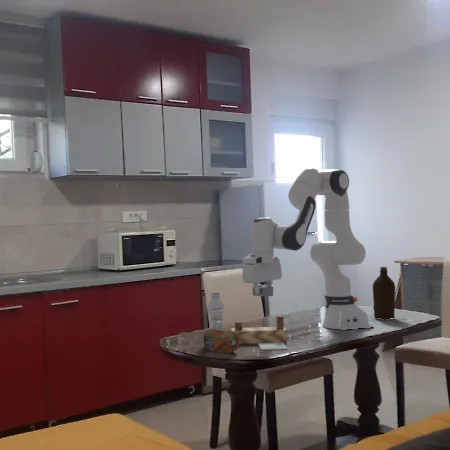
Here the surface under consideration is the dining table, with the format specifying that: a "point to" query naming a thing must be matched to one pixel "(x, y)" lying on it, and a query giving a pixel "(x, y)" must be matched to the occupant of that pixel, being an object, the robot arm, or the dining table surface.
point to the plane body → (261, 333)
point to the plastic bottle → (216, 312)
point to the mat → (272, 346)
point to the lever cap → (264, 291)
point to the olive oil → (384, 296)
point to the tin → (221, 340)
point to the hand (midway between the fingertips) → (263, 292)
